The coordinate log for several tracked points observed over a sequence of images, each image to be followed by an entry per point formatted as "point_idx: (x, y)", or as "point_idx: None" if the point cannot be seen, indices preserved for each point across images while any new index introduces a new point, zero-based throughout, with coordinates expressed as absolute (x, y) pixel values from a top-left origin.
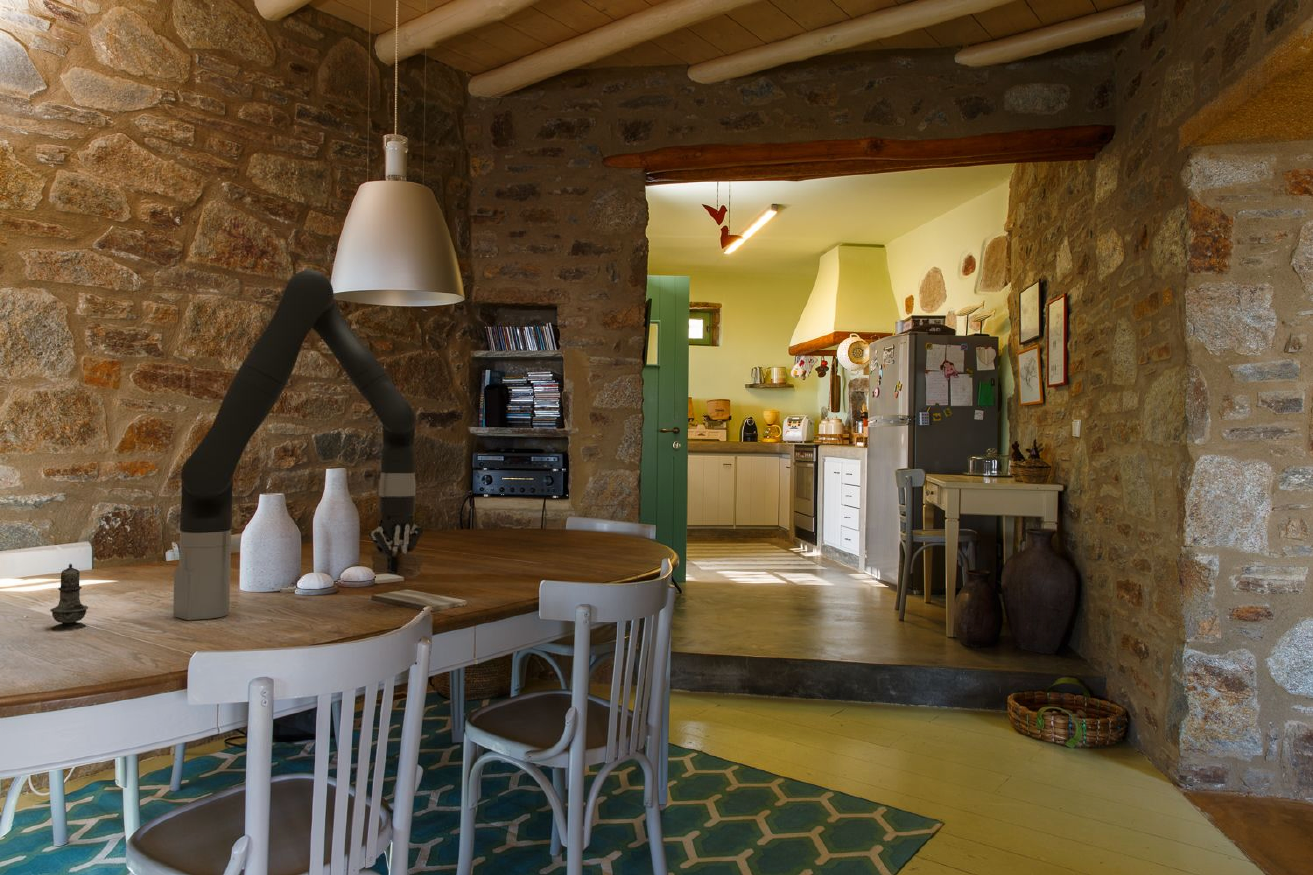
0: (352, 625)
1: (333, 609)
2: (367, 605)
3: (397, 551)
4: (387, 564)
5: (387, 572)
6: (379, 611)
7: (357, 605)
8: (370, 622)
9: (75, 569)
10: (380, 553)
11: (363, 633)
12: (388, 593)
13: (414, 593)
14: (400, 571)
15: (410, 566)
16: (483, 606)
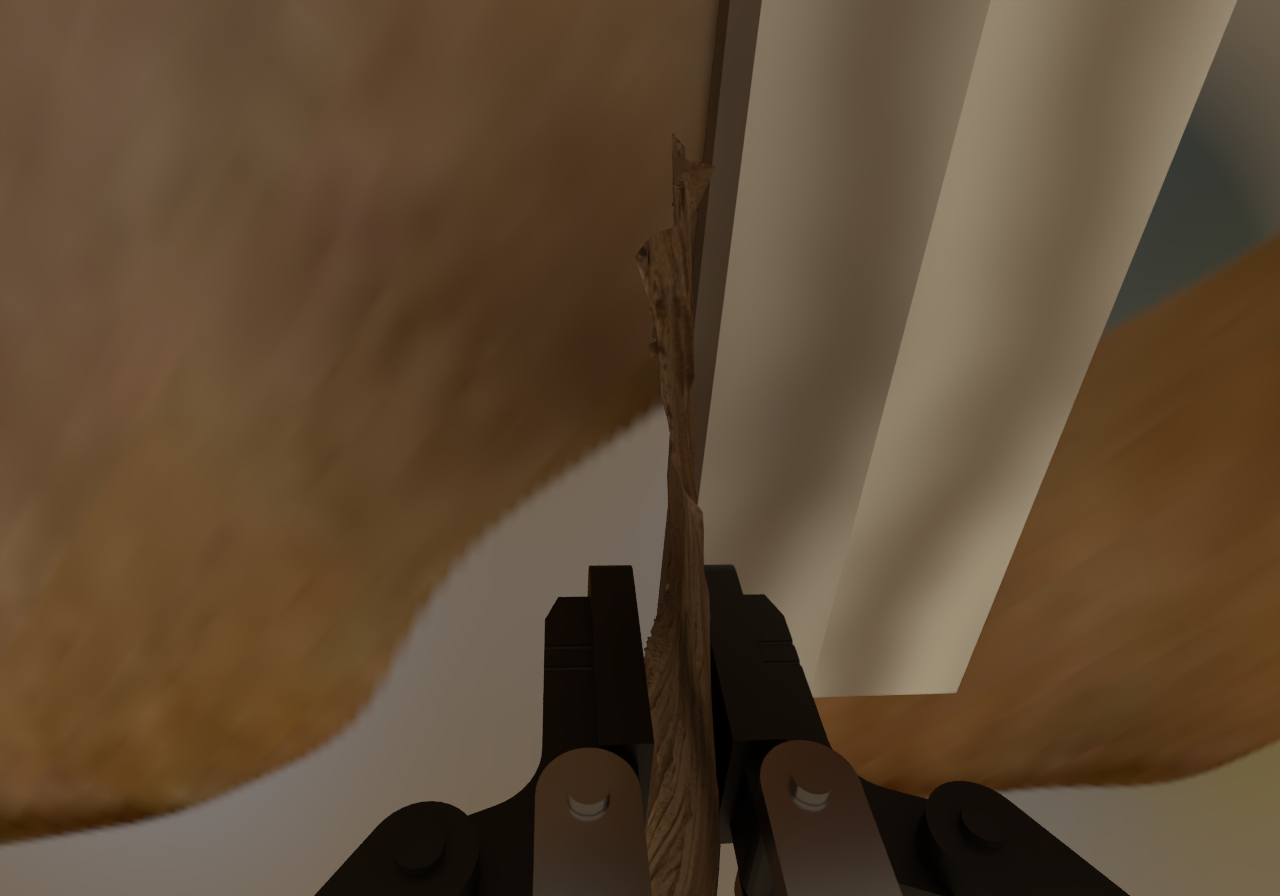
0: (19, 651)
1: (108, 56)
2: (498, 171)
3: (759, 837)
4: (545, 675)
5: (670, 456)
6: (418, 450)
7: (425, 85)
8: (168, 657)
9: None
10: (392, 834)
11: (5, 807)
12: (935, 10)
13: (1049, 242)
14: (676, 662)
15: (668, 851)
16: (952, 740)
